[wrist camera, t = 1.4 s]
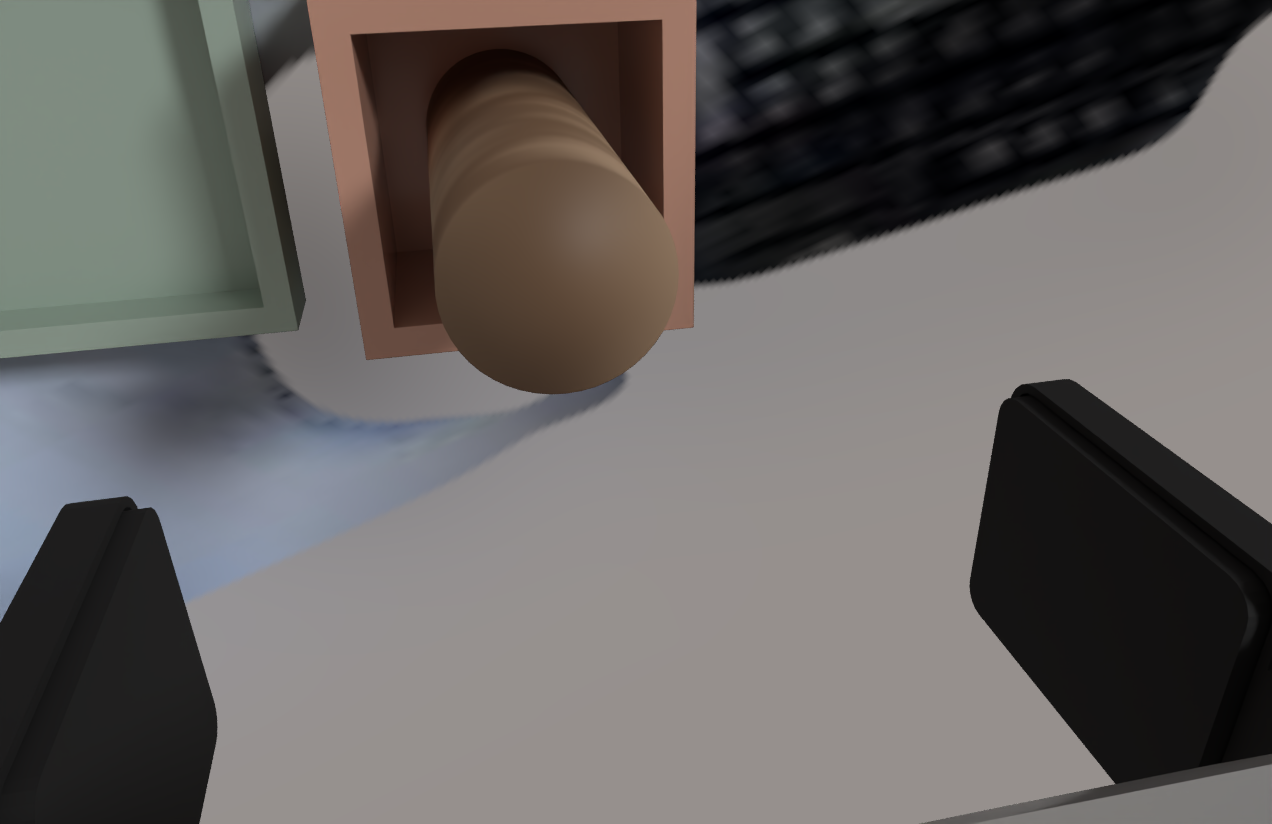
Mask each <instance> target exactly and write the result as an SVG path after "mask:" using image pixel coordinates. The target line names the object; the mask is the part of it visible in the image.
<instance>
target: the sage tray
mask: <svg viewBox="0 0 1272 824" xmlns="http://www.w3.org/2000/svg"><path fill="white" fill-rule="evenodd" d="M305 301H306V298H305V293H304V288H303V283H302V278H301V273H300V267H299V262H298V257H297V251H296V246H295V241H294V236H293V231H292V226H291V220H290V215H289V210H288V205H287V200H286V194H285V189H284V184H283V179H282V173H281V168H280V163H279V158H278V153H277V147H276V143H275V137H274V132H273V127H272V121H271V116H270V111H269V106H268V101H267V95H266V90H265V85H264V80H263V75H262V69H261V64H260V59H259V54H258V49H257V43H256V38H255V33H254V28H253V23H252V17H251V12H250V7H249V2H248V0H0V358H9V357H20V356H31V355H41V354H52V353H63V352H73V351H84V350H95V349H105V348H116V347H127V346H137V345H148V344H159V343H169V342H180V341H191V340H201V339H212V338H223V337H233V336H244V335H255V334H265V333H275V332H286V331H297V330H298V329H299V325H300V321H301V317H302V313H303V309H304V305H305Z"/></svg>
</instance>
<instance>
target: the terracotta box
mask: <svg viewBox="0 0 1272 824" xmlns="http://www.w3.org/2000/svg"><path fill="white" fill-rule="evenodd" d="M307 6H308V12H309V18H310V24H311V30H312V36H313V42H314V48H315V54H316V60H317V66H318V72H319V78H320V84H321V90H322V96H323V102H324V108H325V114H326V120H327V126H328V132H329V138H330V144H331V150H332V156H333V162H334V168H335V174H336V180H337V186H338V192H339V198H340V204H341V210H342V216H343V223H344V229H345V235H346V241H347V246H348V252H349V258H350V265H351V270H352V277H353V282H354V289H355V294H356V300H357V307H358V313H359V319H360V325H361V330H362V337H363V343H364V349H365V355H366V360H370V359H381V358H392V357H402V356H411V355H422V354H432V353H442V352H452V351H458V349H457V348H456V346H455V345H454V344H453V342H452V341H451V339H450V338H449V336H448V334H447V332H446V330H445V328H444V326H443V323H442V320H441V318H440V315H439V312H438V307H437V302H436V297H435V282H434V263H433V244H432V225H431V206H430V187H429V168H428V149H427V130H426V118H427V110H428V105H429V101H430V99H431V96H432V93H433V91H434V89H435V87H436V85H437V84H438V82H439V81H440V79H441V78H442V77H443V75H444V74H445V73H446V72H447V71H448V70H449V69H450V68H451V67H452V66H454V65H455V64H456V63H457V62H459V61H460V60H462V59H464V58H466V57H467V56H470V55H472V54H474V53H477V52H481V51H485V50H492V49H509V50H515V51H519V52H523V53H526V54H528V55H531V56H533V57H535V58H537V59H538V60H540V61H542V62H543V63H545V64H546V65H547V66H548V67H550V68H551V69H552V70H553V71H554V72H555V73H556V74H557V75H558V76H559V77H560V79H561V80H562V81H563V83H564V84H565V85H566V87H567V88H568V89H569V91H570V92H571V94H572V95H573V96H574V98H575V99H576V100H577V102H578V103H579V104H580V106H581V107H582V108H583V110H584V111H585V112H586V114H587V115H588V116H589V118H590V119H591V120H592V122H593V123H594V125H595V126H596V127H597V129H598V130H599V131H600V133H601V134H602V135H603V137H604V138H605V139H606V141H607V142H608V143H609V145H610V146H611V147H612V149H613V150H614V152H615V153H616V154H617V156H618V157H619V158H620V160H621V161H622V162H623V164H624V165H625V166H626V168H627V169H628V170H629V172H630V173H631V174H632V176H633V177H634V178H635V180H636V181H637V183H638V184H639V185H640V187H641V188H642V189H643V191H644V192H645V193H646V195H647V196H648V197H649V199H650V200H651V201H652V203H653V204H654V205H655V207H656V208H657V210H658V211H659V212H660V214H661V215H662V217H663V219H664V220H665V222H666V224H667V226H668V228H669V230H670V233H671V235H672V238H673V241H674V244H675V248H676V253H677V258H678V270H679V278H678V290H677V295H676V300H675V304H674V307H673V310H672V313H671V316H670V318H669V320H668V322H667V325H666V327H665V329H664V330H672V329H683V328H693V327H694V222H695V97H696V0H307Z"/></svg>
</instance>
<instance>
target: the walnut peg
mask: <svg viewBox="0 0 1272 824" xmlns="http://www.w3.org/2000/svg"><path fill="white" fill-rule="evenodd" d="M426 130H427V149H428V168H429V187H430V206H431V225H432V244H433V263H434V282H435V297H436V302H437V307H438V312H439V315H440V318H441V320H442V323H443V326H444V328H445V330H446V332H447V334H448V336H449V338H450V339H451V341H452V342H453V344H454V345H455V346H456V348H457V349H458V351H459V352H460V353H461V354H462V355H463V356H464V357H465V358H466V359H467V360H468V361H469V362H470V363H471V364H472V365H473V366H475V367H476V368H477V369H478V370H479V371H480V372H482V373H484V374H485V375H487V376H488V377H490V378H492V379H493V380H495V381H498V382H500V383H502V384H504V385H506V386H509V387H512V388H515V389H518V390H522V391H528V392H532V393H540V394H566V393H572V392H578V391H583V390H586V389H590V388H593V387H596V386H599V385H601V384H603V383H606V382H608V381H610V380H612V379H614V378H616V377H617V376H619V375H621V374H623V373H624V372H625V371H627V370H628V369H629V368H631V367H632V366H633V365H635V364H636V363H637V362H638V361H639V360H640V359H641V358H642V357H643V356H645V355H646V353H647V352H648V351H649V350H650V349H651V348H652V346H653V345H654V344H655V343H656V341H657V340H658V338H659V337H660V335H661V334H662V332H663V331H664V329H665V327H666V325H667V322H668V320H669V318H670V316H671V313H672V310H673V307H674V304H675V300H676V295H677V290H678V278H679V270H678V258H677V253H676V248H675V244H674V241H673V238H672V235H671V233H670V230H669V228H668V226H667V224H666V222H665V220H664V219H663V217H662V215H661V214H660V212H659V211H658V210H657V208H656V207H655V205H654V204H653V203H652V201H651V200H650V199H649V197H648V196H647V195H646V193H645V192H644V191H643V189H642V188H641V187H640V185H639V184H638V183H637V181H636V180H635V178H634V177H633V176H632V174H631V173H630V172H629V170H628V169H627V168H626V166H625V165H624V164H623V162H622V161H621V160H620V158H619V157H618V156H617V154H616V153H615V152H614V150H613V149H612V147H611V146H610V145H609V143H608V142H607V141H606V139H605V138H604V137H603V135H602V134H601V133H600V131H599V130H598V129H597V127H596V126H595V125H594V123H593V122H592V120H591V119H590V118H589V116H588V115H587V114H586V112H585V111H584V110H583V108H582V107H581V106H580V104H579V103H578V102H577V100H576V99H575V98H574V96H573V95H572V94H571V92H570V91H569V89H568V88H567V87H566V85H565V84H564V83H563V81H562V80H561V79H560V77H559V76H558V75H557V74H556V73H555V72H554V71H553V70H552V69H551V68H550V67H548V66H547V65H546V64H545V63H543V62H542V61H540V60H538V59H537V58H535V57H533V56H531V55H528V54H526V53H523V52H519V51H515V50H509V49H492V50H485V51H481V52H477V53H474V54H472V55H470V56H467V57H466V58H464V59H462V60H460V61H459V62H457V63H456V64H455V65H454V66H452V67H451V68H450V69H449V70H448V71H447V72H446V73H445V74H444V75H443V77H442V78H441V79H440V81H439V82H438V84H437V85H436V87H435V89H434V91H433V93H432V96H431V99H430V101H429V105H428V110H427V118H426Z"/></svg>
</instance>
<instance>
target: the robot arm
mask: <svg viewBox="0 0 1272 824" xmlns="http://www.w3.org/2000/svg"><path fill="white" fill-rule="evenodd" d="M970 594H971V598H972V602H973V604H974V607H975V609H976V610H977V612H978V613H979V615H980V616H981V617H982V619H983V620H984V621H985V622H986V624H987V625H988V626H989V627H990V629H991V630H992V631H993V632H994V634H995V635H996V636H997V637H998V639H999V640H1000V641H1001V642H1002V643H1003V645H1004V646H1005V647H1006V649H1007V650H1008V651H1009V652H1010V653H1011V655H1012V656H1013V657H1014V658H1015V660H1016V661H1017V662H1018V663H1019V664H1020V666H1021V667H1022V668H1023V670H1024V671H1025V672H1026V673H1027V675H1028V676H1029V677H1030V678H1031V679H1032V681H1033V682H1034V683H1035V684H1036V686H1037V687H1038V688H1039V689H1040V691H1041V692H1042V693H1043V694H1044V696H1045V697H1046V698H1047V699H1048V701H1049V702H1050V703H1051V704H1052V705H1053V707H1054V708H1055V709H1056V711H1057V712H1058V713H1059V714H1060V715H1061V717H1062V718H1063V719H1064V720H1065V722H1066V723H1067V724H1068V725H1069V727H1070V728H1071V729H1072V730H1073V732H1074V733H1075V734H1076V735H1077V737H1078V738H1079V739H1080V740H1081V741H1082V743H1083V744H1084V745H1085V747H1086V748H1087V749H1088V750H1089V751H1090V753H1091V754H1092V755H1093V757H1094V758H1095V759H1096V760H1097V761H1098V763H1099V764H1100V765H1101V766H1102V768H1103V769H1104V770H1105V771H1106V772H1107V774H1108V775H1109V776H1110V778H1111V779H1112V780H1113V781H1114V783H1115V784H1114V785H1109V786H1104V787H1100V788H1094V789H1089V790H1084V791H1079V792H1074V793H1069V794H1064V795H1059V796H1054V797H1049V798H1044V799H1039V800H1034V801H1029V802H1025V803H1019V804H1014V805H1009V806H1004V807H1000V808H994V809H989V810H984V811H980V812H975V813H970V814H965V815H960V816H955V817H950V818H946V819H941V820H936V821H931V822H927V823H921V824H1272V524H1271V523H1270V522H1268V521H1267V520H1265V519H1264V518H1263V517H1261V516H1260V515H1259V514H1257V513H1256V512H1254V511H1253V510H1252V509H1250V508H1249V507H1248V506H1246V505H1245V504H1243V503H1242V502H1241V501H1239V500H1238V499H1236V498H1235V497H1234V496H1232V495H1231V494H1230V493H1228V492H1227V491H1225V490H1224V489H1223V488H1221V487H1220V486H1219V485H1217V484H1216V483H1214V482H1213V481H1212V480H1210V479H1209V478H1207V477H1206V476H1205V475H1203V474H1202V473H1200V472H1199V471H1198V470H1196V469H1195V468H1194V467H1192V466H1191V465H1190V464H1188V463H1186V462H1185V461H1184V460H1182V459H1181V458H1180V457H1179V456H1177V455H1176V454H1174V453H1173V452H1172V451H1170V450H1169V449H1167V448H1166V447H1164V446H1163V445H1162V444H1161V443H1159V442H1158V441H1156V440H1155V439H1154V438H1152V437H1151V436H1150V435H1148V434H1147V433H1145V432H1144V431H1143V430H1141V429H1140V428H1138V427H1137V426H1136V425H1134V424H1133V423H1132V422H1130V421H1129V420H1127V419H1126V418H1125V417H1123V416H1122V415H1121V414H1119V413H1118V412H1116V411H1115V410H1114V409H1112V408H1111V407H1109V406H1108V405H1107V404H1105V403H1104V402H1103V401H1101V400H1100V399H1098V398H1097V397H1096V396H1094V395H1093V394H1092V393H1090V392H1089V391H1087V390H1086V389H1085V388H1083V387H1082V386H1080V385H1079V384H1078V383H1076V382H1074V381H1072V380H1070V379H1062V380H1055V381H1046V382H1039V383H1031V384H1022V385H1020V386H1019V387H1017V388H1016V389H1015V391H1014V392H1013V394H1012V396H1011V398H1008V399H1006V400H1005V401H1004V402H1003V403H1002V405H1001V407H1000V410H999V415H998V420H997V426H996V432H995V438H994V444H993V449H992V455H991V461H990V467H989V473H988V478H987V484H986V491H985V496H984V502H983V507H982V513H981V519H980V526H979V531H978V537H977V542H976V548H975V554H974V560H973V566H972V572H971V577H970ZM216 739H217V715H216V708H215V703H214V700H213V696H212V693H211V690H210V687H209V683H208V680H207V677H206V673H205V670H204V666H203V663H202V660H201V656H200V653H199V650H198V647H197V643H196V640H195V636H194V633H193V630H192V626H191V623H190V620H189V617H188V613H187V610H186V606H185V603H184V600H183V596H182V593H181V590H180V586H179V583H178V580H177V576H176V573H175V570H174V566H173V563H172V560H171V556H170V553H169V550H168V546H167V543H166V540H165V536H164V533H163V530H162V526H161V523H160V520H159V517H158V515H157V513H156V512H155V510H154V509H153V508H143V509H138V508H137V506H136V504H135V503H134V501H133V500H132V499H131V498H130V497H128V496H125V497H117V498H109V499H101V500H93V501H85V502H77V503H70V504H66V505H65V506H64V507H63V508H62V509H61V511H60V512H59V514H58V516H57V518H56V520H55V522H54V524H53V525H52V527H51V529H50V531H49V533H48V535H47V537H46V539H45V540H44V542H43V544H42V546H41V548H40V550H39V552H38V554H37V555H36V557H35V559H34V561H33V563H32V565H31V567H30V568H29V570H28V572H27V574H26V576H25V578H24V580H23V582H22V583H21V585H20V587H19V589H18V591H17V593H16V595H15V596H14V598H13V600H12V602H11V604H10V606H9V608H8V610H7V611H6V613H5V615H4V617H3V619H2V621H1V623H0V824H199V822H200V818H201V812H202V808H203V803H204V798H205V793H206V788H207V784H208V779H209V774H210V769H211V764H212V760H213V755H214V750H215V745H216Z"/></svg>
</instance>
